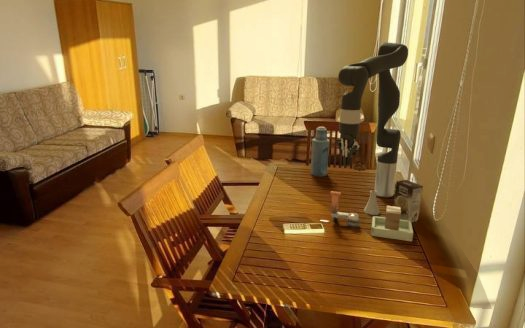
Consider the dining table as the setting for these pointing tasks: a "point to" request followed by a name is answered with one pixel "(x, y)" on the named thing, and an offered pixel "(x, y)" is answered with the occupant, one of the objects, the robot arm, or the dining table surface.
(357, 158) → the place setting
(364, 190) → the dining table surface
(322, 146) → the bottle
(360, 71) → the robot arm
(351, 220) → the crank
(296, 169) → the dining table surface
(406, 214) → the coffee box
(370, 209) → the flask
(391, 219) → the block
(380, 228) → the tray
